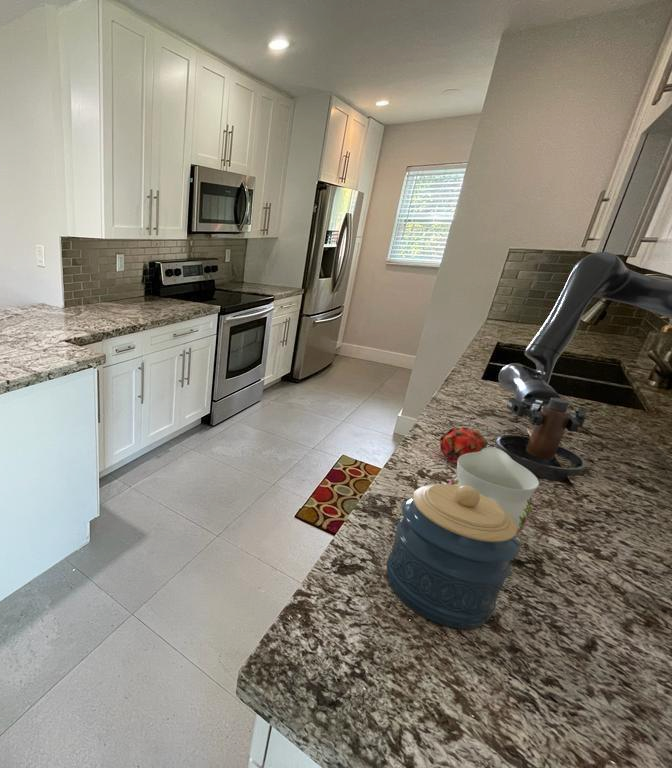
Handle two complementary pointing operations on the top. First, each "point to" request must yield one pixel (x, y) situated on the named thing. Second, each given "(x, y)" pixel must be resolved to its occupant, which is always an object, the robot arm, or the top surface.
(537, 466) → the pan
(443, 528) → the canister
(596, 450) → the top surface
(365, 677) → the top surface
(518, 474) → the pitcher
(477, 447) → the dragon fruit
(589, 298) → the robot arm
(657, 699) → the top surface
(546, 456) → the pepper mill
